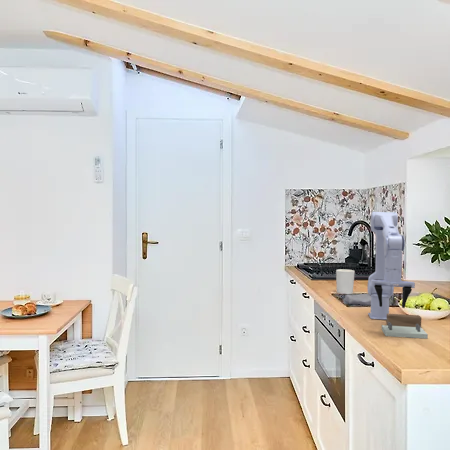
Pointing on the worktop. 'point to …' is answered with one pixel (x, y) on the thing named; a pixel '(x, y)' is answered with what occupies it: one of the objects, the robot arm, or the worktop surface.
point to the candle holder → (345, 281)
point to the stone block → (358, 299)
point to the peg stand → (404, 331)
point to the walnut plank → (403, 320)
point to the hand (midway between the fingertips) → (391, 306)
